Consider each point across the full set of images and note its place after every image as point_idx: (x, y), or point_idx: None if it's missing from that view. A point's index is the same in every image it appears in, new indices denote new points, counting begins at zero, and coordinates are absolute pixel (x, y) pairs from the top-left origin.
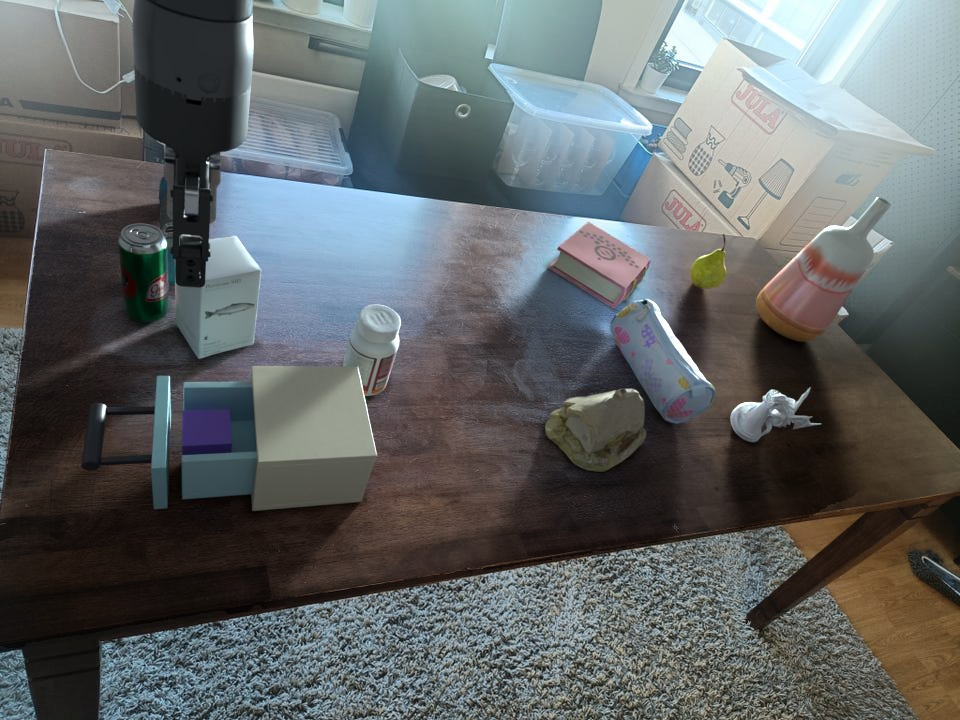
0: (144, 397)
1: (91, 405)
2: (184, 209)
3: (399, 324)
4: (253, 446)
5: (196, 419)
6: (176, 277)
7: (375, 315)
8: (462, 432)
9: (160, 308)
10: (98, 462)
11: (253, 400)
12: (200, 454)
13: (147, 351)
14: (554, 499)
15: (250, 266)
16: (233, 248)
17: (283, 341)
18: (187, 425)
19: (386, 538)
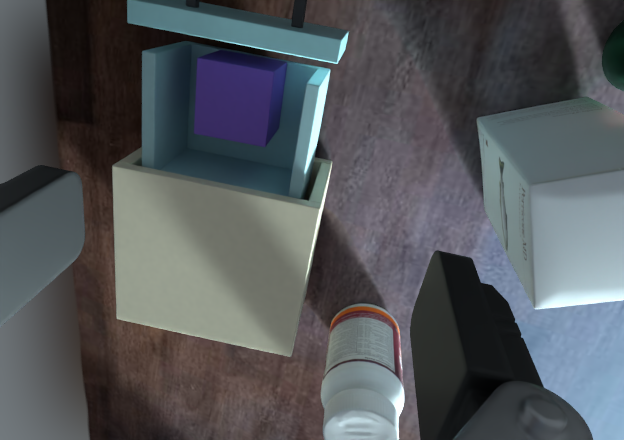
0: (414, 14)
1: None
2: (439, 306)
3: None
4: (251, 157)
5: (249, 90)
6: (25, 176)
7: (369, 432)
8: (249, 398)
9: (616, 76)
10: None
11: (247, 189)
12: (154, 82)
13: (527, 35)
14: (143, 436)
15: (553, 293)
16: None
17: (478, 253)
18: (238, 73)
19: (114, 263)
